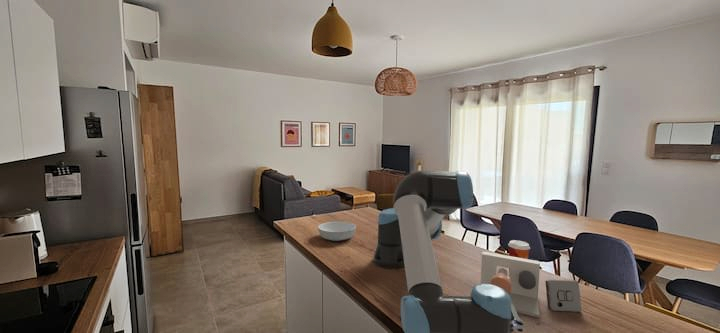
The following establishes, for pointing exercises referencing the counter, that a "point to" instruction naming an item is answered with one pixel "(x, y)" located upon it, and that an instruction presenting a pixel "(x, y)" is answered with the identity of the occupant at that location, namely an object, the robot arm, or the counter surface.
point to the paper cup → (518, 249)
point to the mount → (515, 280)
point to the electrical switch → (563, 295)
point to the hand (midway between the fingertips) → (500, 292)
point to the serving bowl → (336, 230)
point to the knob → (502, 280)
